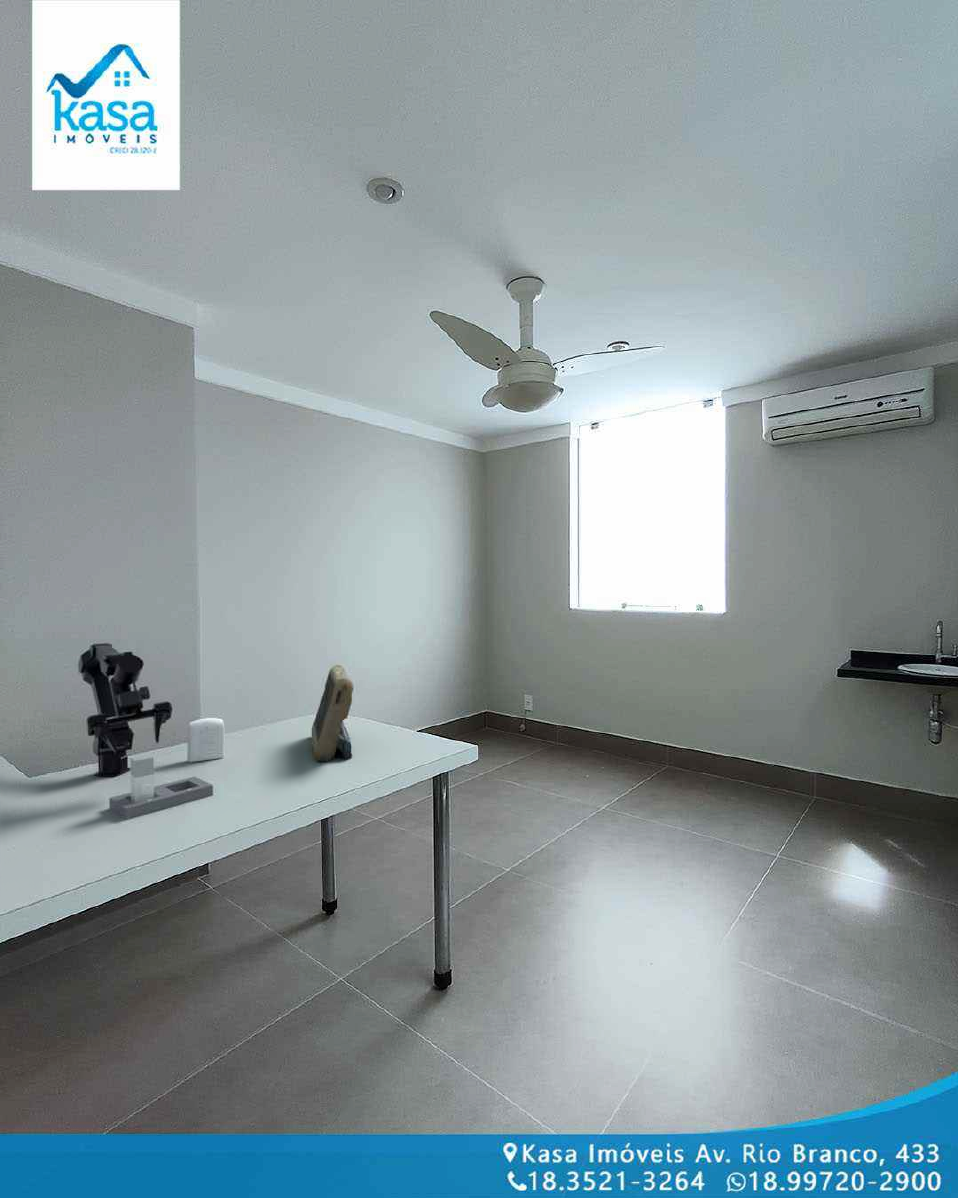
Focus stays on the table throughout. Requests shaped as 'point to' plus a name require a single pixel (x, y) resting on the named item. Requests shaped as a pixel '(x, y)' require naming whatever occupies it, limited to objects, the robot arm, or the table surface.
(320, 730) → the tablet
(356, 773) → the table surface
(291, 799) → the table surface
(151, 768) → the plug
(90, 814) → the table surface
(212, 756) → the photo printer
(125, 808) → the socket plate
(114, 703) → the robot arm
